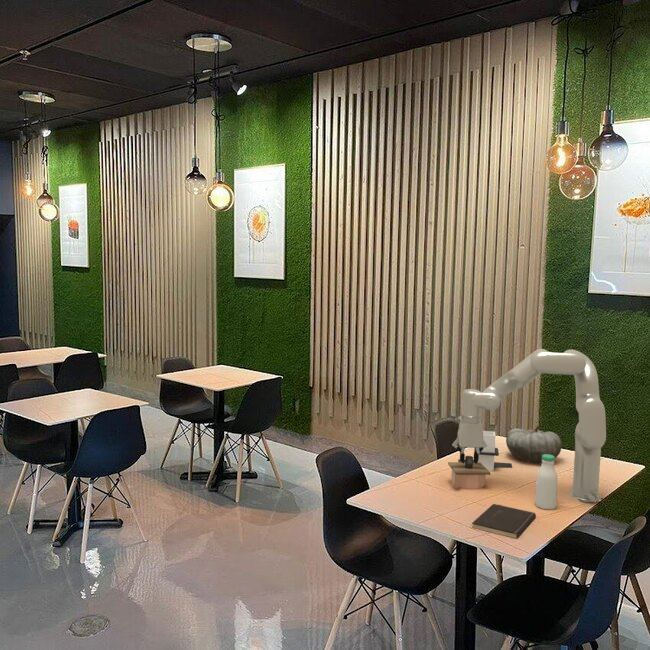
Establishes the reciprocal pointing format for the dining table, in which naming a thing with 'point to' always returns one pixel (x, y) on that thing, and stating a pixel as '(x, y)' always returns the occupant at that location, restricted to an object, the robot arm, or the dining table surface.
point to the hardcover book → (504, 520)
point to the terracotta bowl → (468, 481)
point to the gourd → (533, 444)
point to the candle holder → (490, 453)
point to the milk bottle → (546, 484)
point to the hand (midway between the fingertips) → (469, 462)
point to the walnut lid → (468, 467)
